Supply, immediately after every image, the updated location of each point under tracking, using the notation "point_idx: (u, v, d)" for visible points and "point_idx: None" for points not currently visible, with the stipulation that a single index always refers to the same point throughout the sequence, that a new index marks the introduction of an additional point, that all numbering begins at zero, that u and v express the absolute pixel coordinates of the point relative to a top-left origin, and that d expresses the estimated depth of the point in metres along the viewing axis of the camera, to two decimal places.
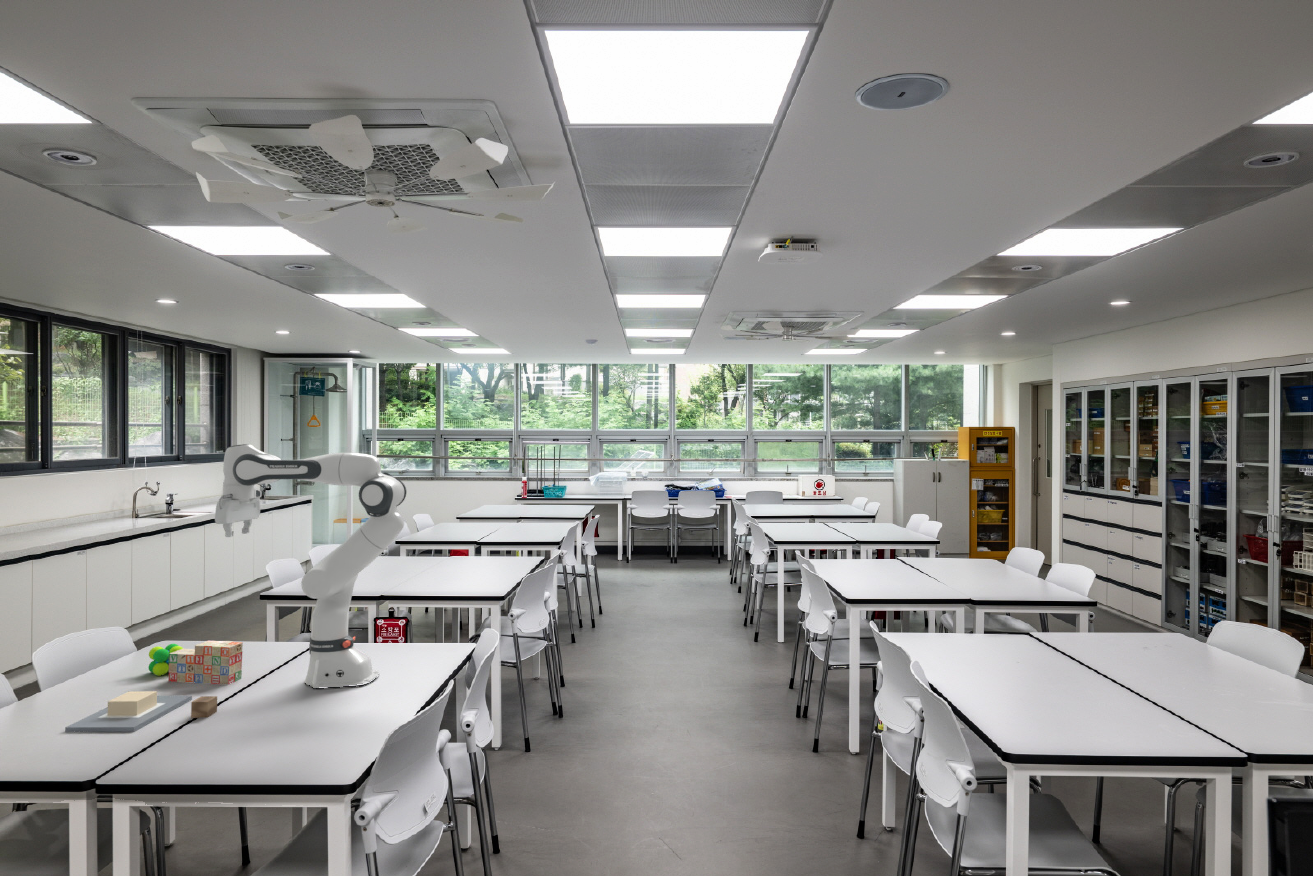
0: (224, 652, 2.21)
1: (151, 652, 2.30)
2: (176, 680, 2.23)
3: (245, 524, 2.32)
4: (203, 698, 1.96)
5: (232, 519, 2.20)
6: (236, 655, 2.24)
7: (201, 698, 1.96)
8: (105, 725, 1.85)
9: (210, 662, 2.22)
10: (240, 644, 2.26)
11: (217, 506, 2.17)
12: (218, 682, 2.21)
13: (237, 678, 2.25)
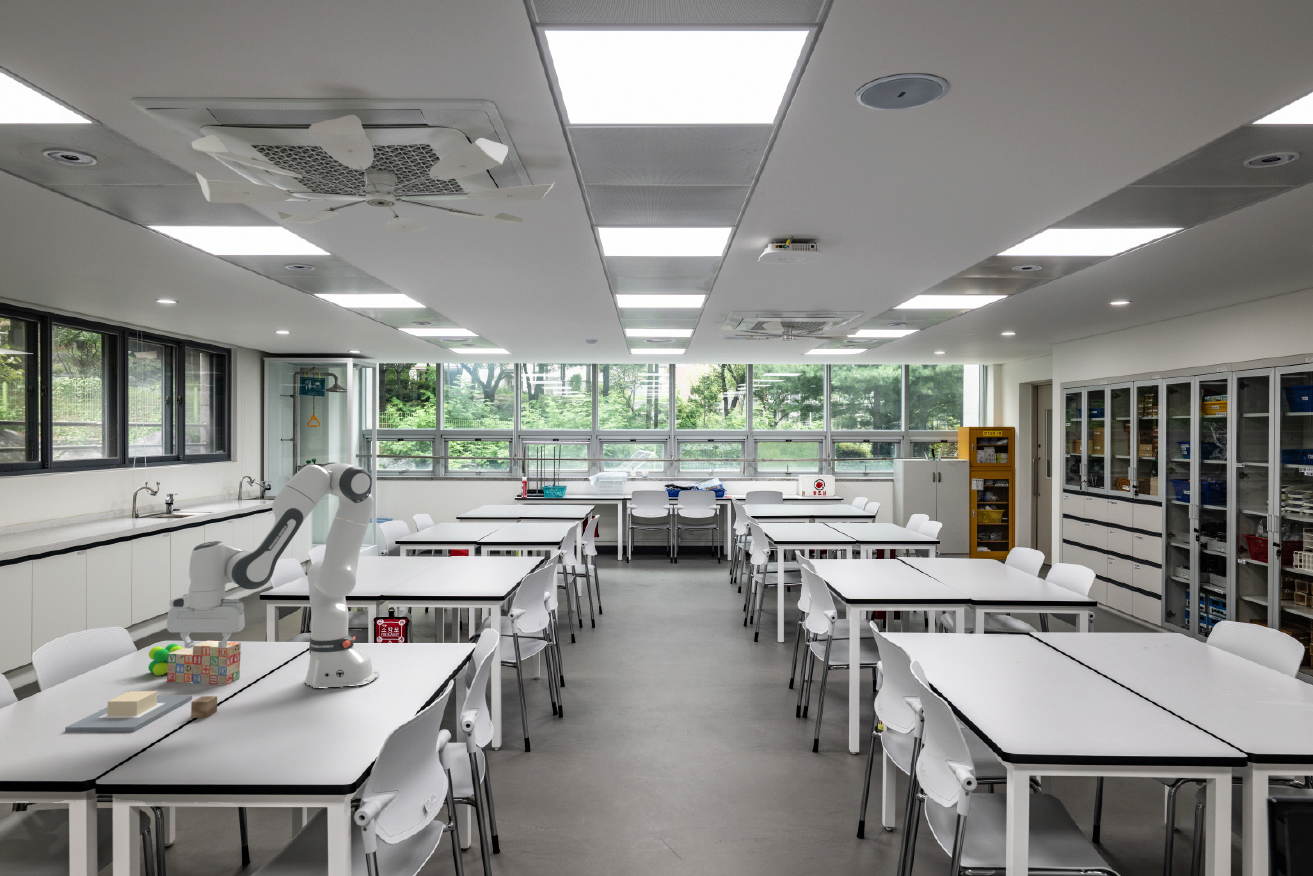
0: (222, 652, 2.21)
1: (151, 652, 2.30)
2: (174, 680, 2.23)
3: (185, 637, 1.95)
4: (203, 698, 1.96)
5: None
6: (234, 655, 2.24)
7: (201, 698, 1.96)
8: (105, 725, 1.85)
9: (208, 662, 2.22)
10: (238, 644, 2.26)
11: (238, 613, 1.95)
12: (216, 682, 2.21)
13: (235, 678, 2.25)
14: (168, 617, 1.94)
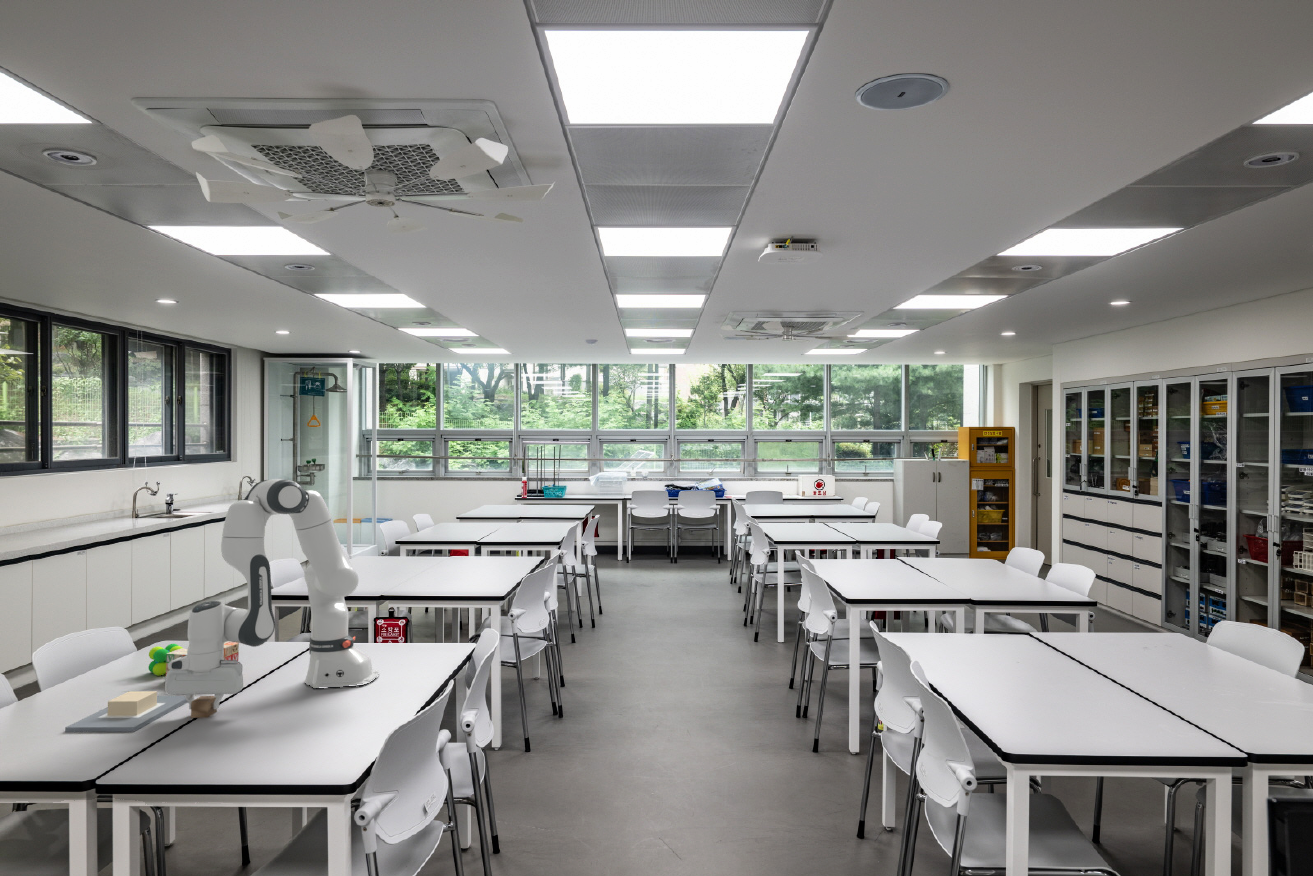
0: None
1: (151, 652, 2.30)
2: None
3: (190, 699, 1.95)
4: (203, 698, 1.96)
5: None
6: (232, 656, 2.24)
7: (201, 698, 1.96)
8: (105, 725, 1.85)
9: None
10: (236, 644, 2.26)
11: (236, 674, 1.95)
12: None
13: None
14: (166, 679, 1.93)
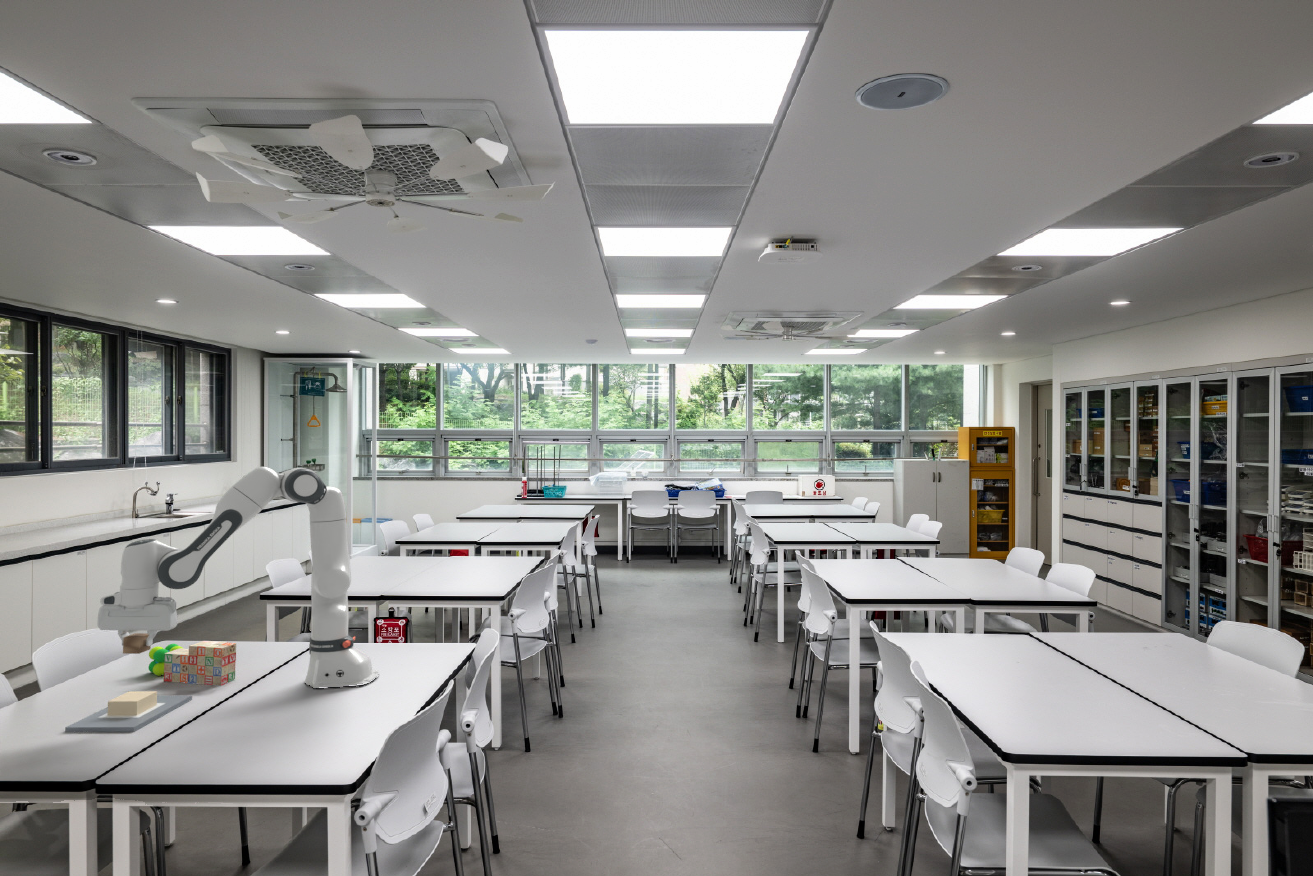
0: (217, 652, 2.20)
1: (151, 652, 2.30)
2: (171, 680, 2.23)
3: (123, 635, 1.95)
4: (136, 635, 1.96)
5: None
6: (229, 656, 2.23)
7: (134, 634, 1.96)
8: (105, 725, 1.85)
9: (203, 663, 2.21)
10: (233, 645, 2.25)
11: (169, 611, 1.95)
12: (211, 683, 2.20)
13: (230, 679, 2.24)
14: (99, 615, 1.93)
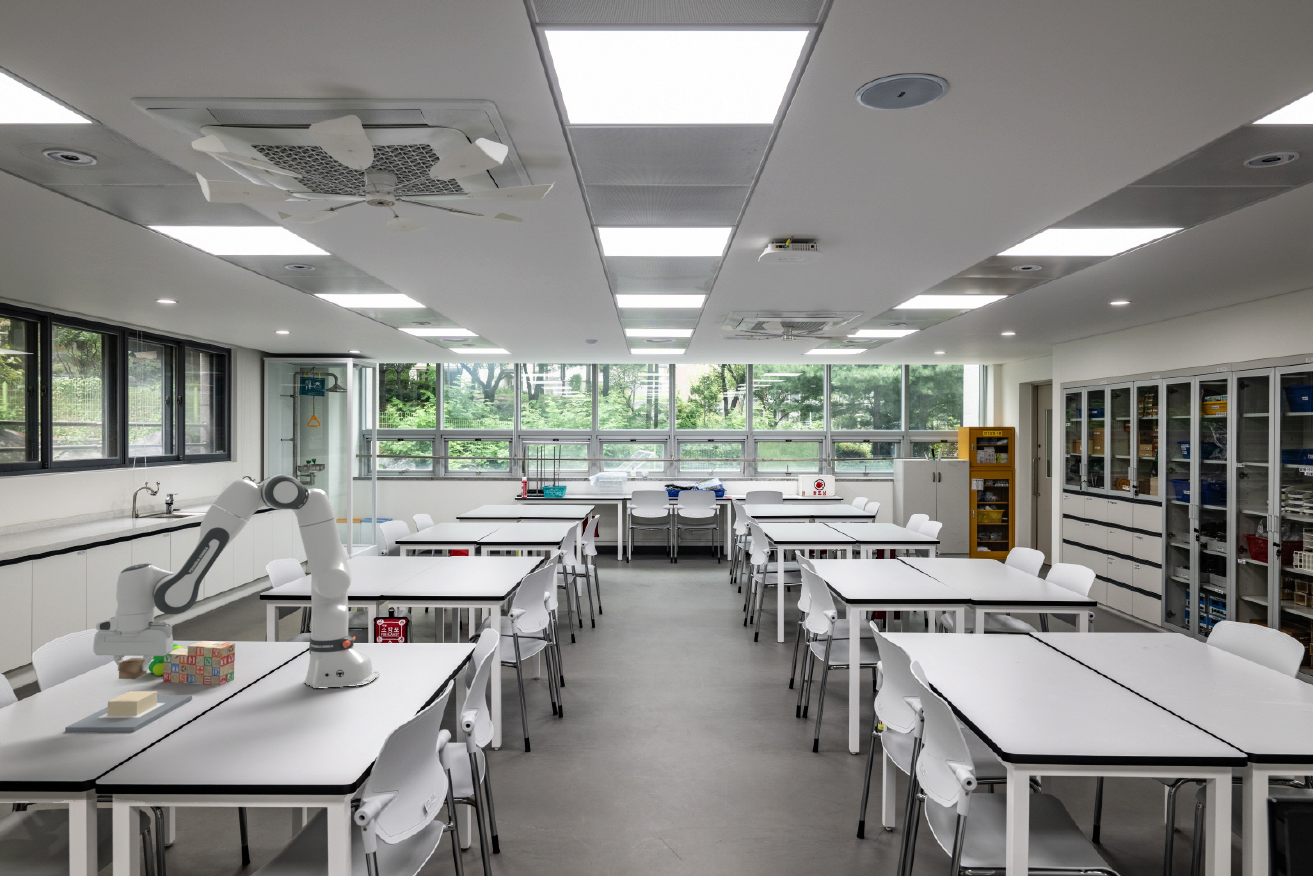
0: (216, 652, 2.20)
1: None
2: (170, 680, 2.23)
3: (119, 660, 1.95)
4: (132, 660, 1.95)
5: None
6: (228, 656, 2.23)
7: (130, 659, 1.96)
8: (105, 725, 1.85)
9: (202, 663, 2.21)
10: (232, 645, 2.25)
11: (165, 636, 1.95)
12: (210, 683, 2.20)
13: (229, 679, 2.24)
14: (95, 640, 1.93)
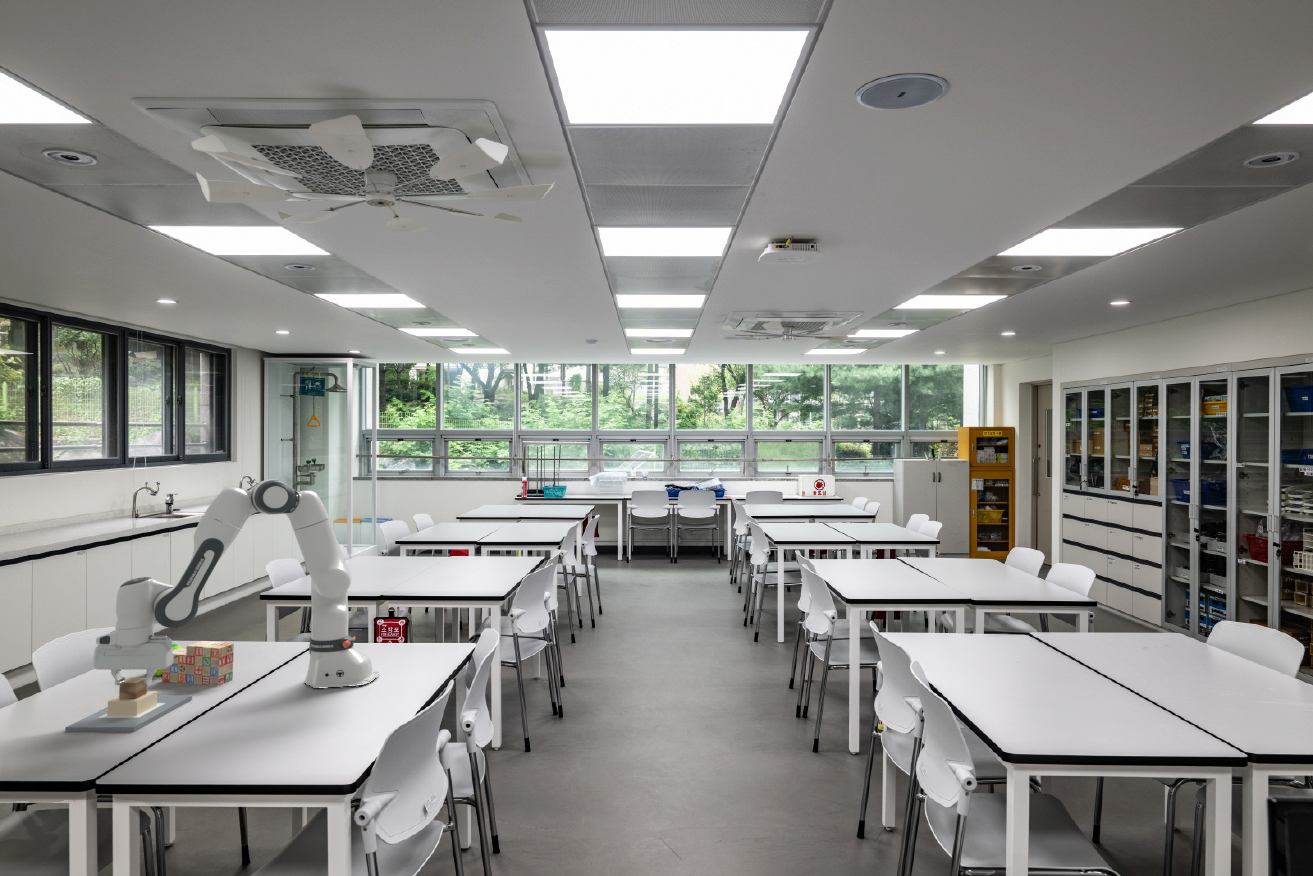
0: (214, 653, 2.20)
1: None
2: (169, 680, 2.23)
3: (116, 674, 1.95)
4: (132, 680, 1.95)
5: None
6: (226, 656, 2.23)
7: (130, 679, 1.96)
8: (105, 725, 1.85)
9: (201, 663, 2.21)
10: (231, 645, 2.25)
11: (165, 649, 1.95)
12: (208, 683, 2.20)
13: (228, 679, 2.24)
14: (95, 654, 1.93)
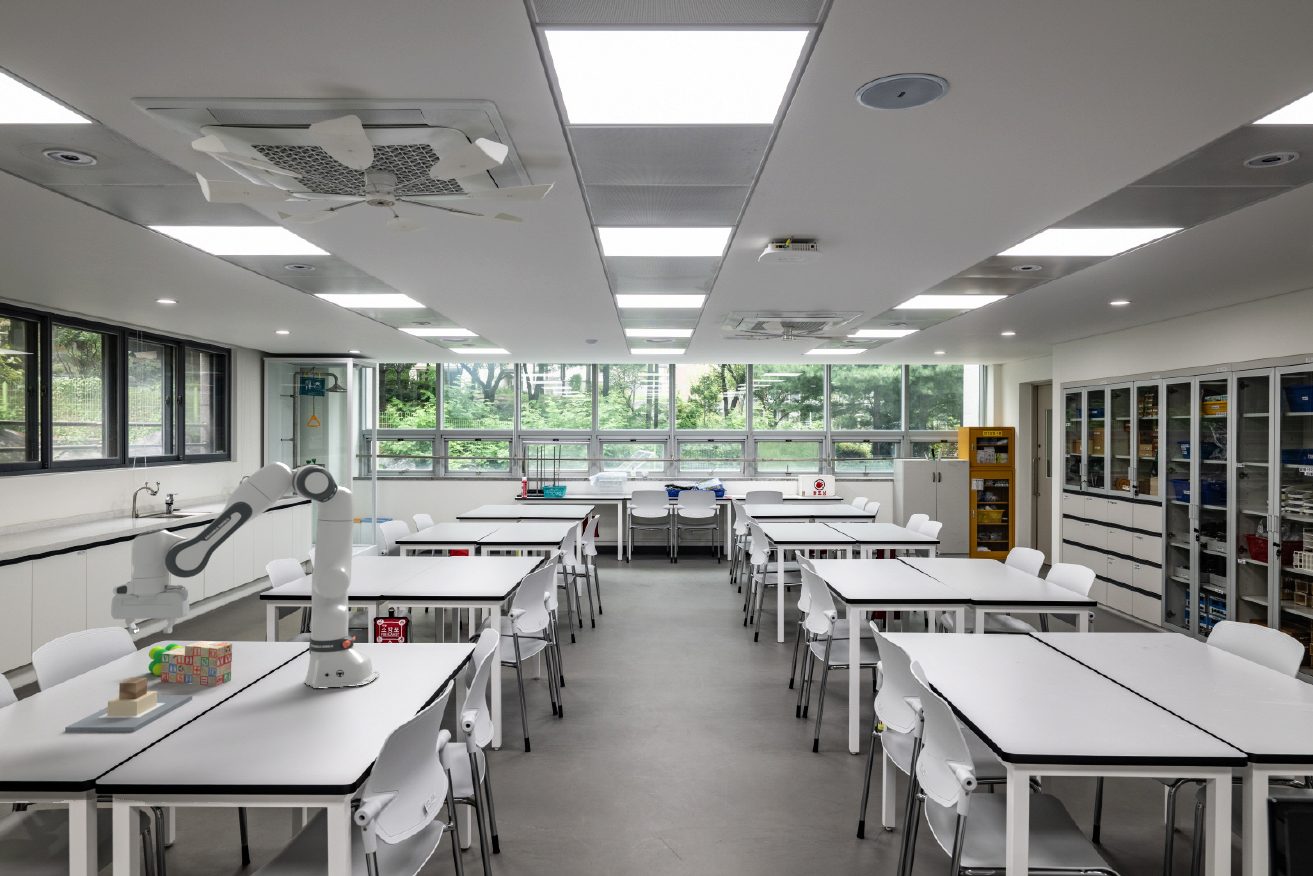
0: (212, 653, 2.20)
1: (151, 652, 2.30)
2: (168, 680, 2.23)
3: (130, 624, 1.98)
4: (132, 680, 1.95)
5: None
6: (225, 656, 2.23)
7: (130, 679, 1.96)
8: (105, 725, 1.85)
9: (199, 663, 2.21)
10: (229, 645, 2.25)
11: (181, 598, 1.98)
12: (206, 683, 2.20)
13: (226, 680, 2.24)
14: (112, 604, 1.97)
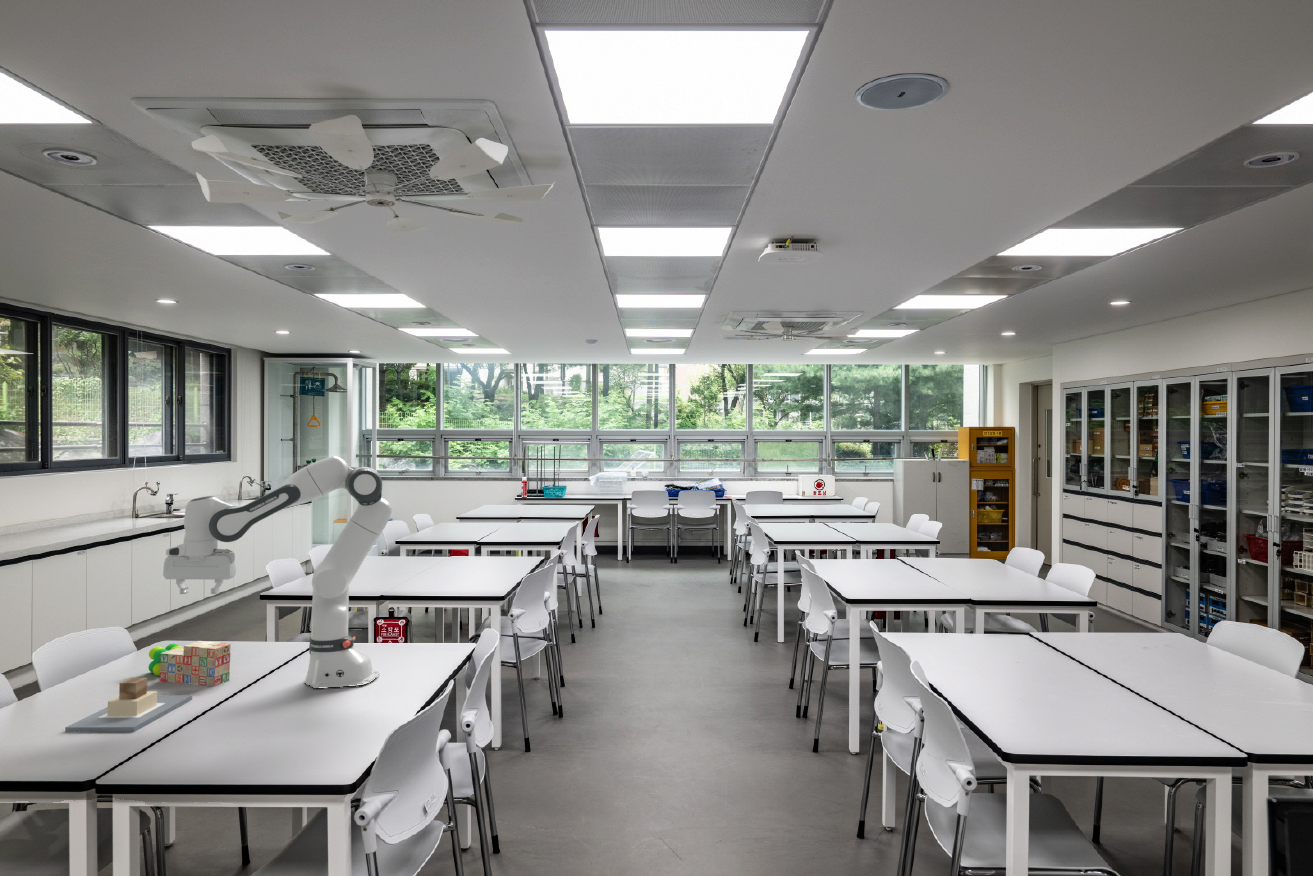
0: (211, 653, 2.20)
1: (151, 652, 2.30)
2: (167, 680, 2.23)
3: (180, 584, 2.11)
4: (132, 680, 1.95)
5: None
6: (223, 657, 2.22)
7: (130, 679, 1.96)
8: (105, 725, 1.85)
9: (197, 663, 2.21)
10: (228, 645, 2.24)
11: (229, 561, 2.11)
12: (205, 683, 2.20)
13: (224, 680, 2.23)
14: (164, 565, 2.10)
